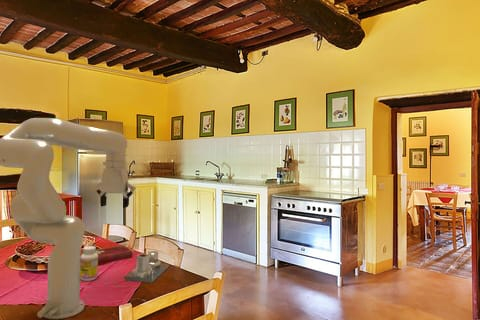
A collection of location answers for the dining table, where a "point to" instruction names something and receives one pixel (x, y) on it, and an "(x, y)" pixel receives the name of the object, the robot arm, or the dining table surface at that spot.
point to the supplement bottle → (89, 264)
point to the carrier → (153, 264)
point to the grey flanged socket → (142, 266)
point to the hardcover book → (113, 254)
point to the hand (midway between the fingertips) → (114, 206)
